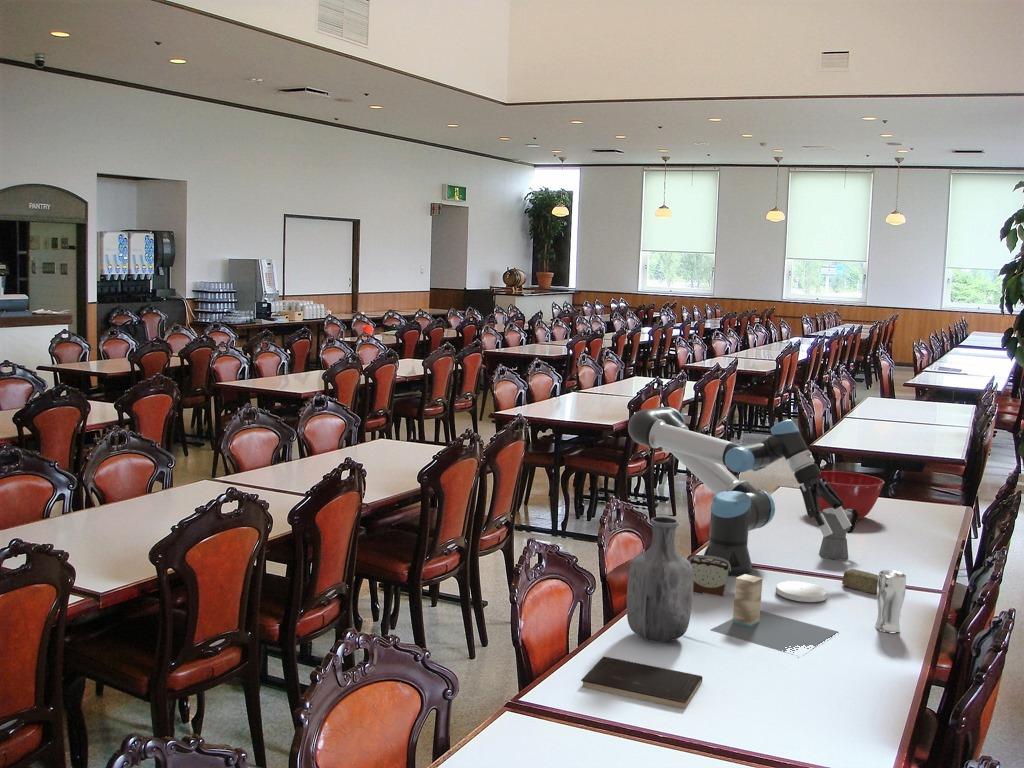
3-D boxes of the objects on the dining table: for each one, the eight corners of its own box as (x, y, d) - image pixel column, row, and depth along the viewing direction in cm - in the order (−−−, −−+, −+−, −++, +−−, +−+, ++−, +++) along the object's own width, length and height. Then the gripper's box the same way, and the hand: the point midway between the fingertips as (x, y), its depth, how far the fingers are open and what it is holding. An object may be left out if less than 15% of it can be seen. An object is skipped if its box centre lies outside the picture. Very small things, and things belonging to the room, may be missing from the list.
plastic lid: (765, 591, 296) (766, 583, 295) (804, 587, 301) (805, 579, 301) (796, 607, 283) (797, 598, 283) (836, 603, 289) (837, 594, 288)
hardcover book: (684, 712, 212) (685, 701, 212) (580, 689, 221) (581, 679, 221) (702, 684, 227) (702, 674, 227) (603, 664, 236) (604, 655, 236)
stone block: (877, 596, 296) (878, 579, 295) (840, 586, 304) (841, 570, 303) (885, 592, 300) (887, 575, 300) (848, 582, 308) (850, 566, 307)
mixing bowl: (792, 507, 406) (795, 468, 404) (860, 508, 409) (864, 470, 408) (821, 525, 378) (824, 484, 376) (894, 526, 381) (898, 486, 380)
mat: (709, 631, 259) (709, 629, 259) (752, 610, 278) (753, 608, 278) (798, 658, 244) (798, 656, 244) (838, 633, 263) (838, 631, 263)
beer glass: (888, 635, 263) (893, 579, 261) (867, 626, 269) (872, 571, 267) (907, 632, 266) (912, 576, 264) (886, 623, 272) (891, 568, 270)
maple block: (732, 622, 266) (736, 577, 264) (741, 618, 269) (745, 573, 268) (750, 627, 262) (753, 582, 261) (759, 622, 266) (762, 578, 265)
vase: (674, 655, 242) (682, 532, 239) (613, 640, 250) (620, 520, 247) (699, 636, 256) (707, 519, 252) (641, 622, 264) (648, 508, 261)
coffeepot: (827, 561, 329) (831, 507, 327) (808, 553, 338) (812, 500, 336) (864, 558, 335) (869, 504, 333) (844, 550, 344) (849, 498, 342)
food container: (733, 593, 292) (735, 559, 291) (728, 599, 286) (731, 564, 285) (691, 585, 297) (693, 552, 296) (685, 591, 291) (687, 557, 290)
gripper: (795, 467, 300) (830, 533, 294) (831, 457, 318) (865, 519, 312) (775, 478, 304) (809, 543, 298) (812, 468, 323) (845, 529, 317)
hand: (838, 531), depth 305 cm, fingers open, 13 cm apart
